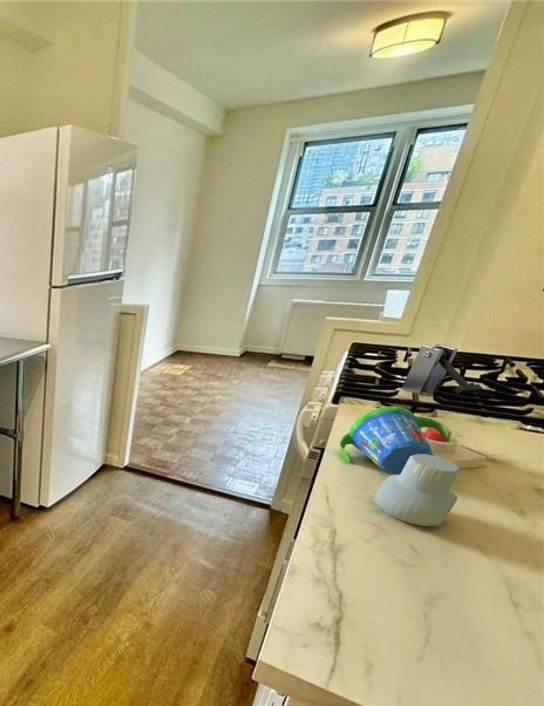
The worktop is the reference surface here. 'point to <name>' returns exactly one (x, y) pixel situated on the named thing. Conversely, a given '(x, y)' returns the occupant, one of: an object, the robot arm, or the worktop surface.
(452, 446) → the button housing
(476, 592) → the worktop surface
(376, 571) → the worktop surface
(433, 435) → the button
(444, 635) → the worktop surface
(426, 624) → the worktop surface
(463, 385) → the dark gray lever
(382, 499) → the air freshener
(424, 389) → the lever bracket
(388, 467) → the snack cup
